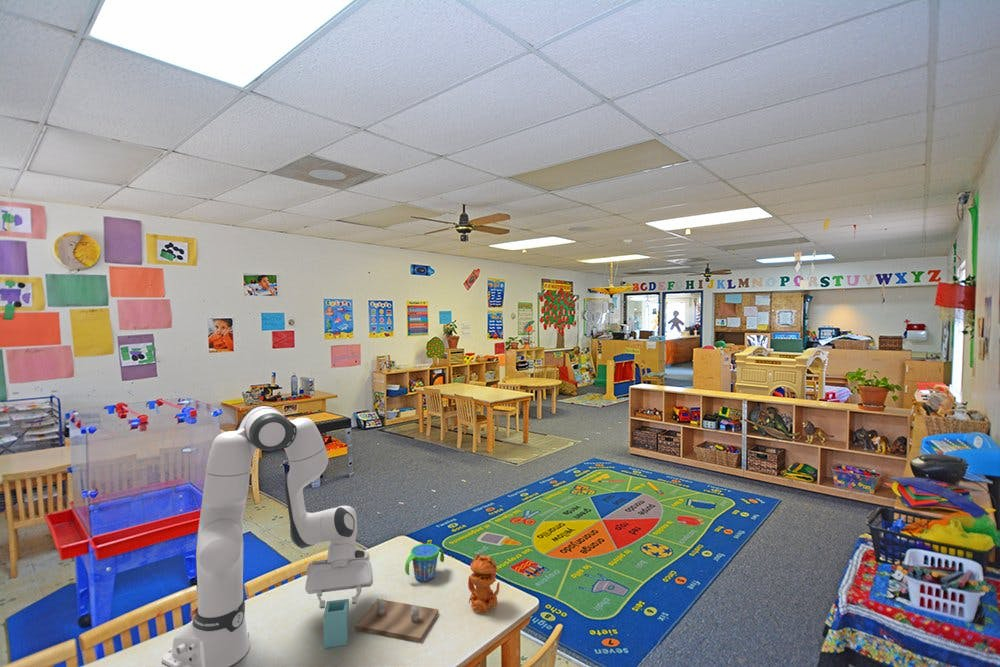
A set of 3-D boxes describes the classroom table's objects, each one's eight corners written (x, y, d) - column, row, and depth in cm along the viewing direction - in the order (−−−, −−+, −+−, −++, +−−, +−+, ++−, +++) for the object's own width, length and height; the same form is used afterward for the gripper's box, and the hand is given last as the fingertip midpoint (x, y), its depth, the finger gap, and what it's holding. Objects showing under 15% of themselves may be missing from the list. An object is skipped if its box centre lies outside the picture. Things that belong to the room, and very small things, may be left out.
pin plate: (354, 629, 143) (354, 612, 143) (377, 603, 156) (377, 587, 156) (420, 642, 137) (420, 624, 137) (438, 613, 151) (438, 597, 151)
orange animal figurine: (460, 613, 151) (460, 559, 151) (474, 594, 162) (474, 544, 161) (491, 621, 147) (492, 566, 147) (504, 602, 157) (504, 550, 157)
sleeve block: (323, 648, 135) (323, 614, 135) (326, 633, 141) (326, 601, 141) (346, 644, 136) (346, 611, 136) (348, 630, 143) (348, 598, 142)
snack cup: (437, 564, 181) (437, 538, 181) (450, 577, 172) (450, 550, 172) (399, 576, 173) (399, 549, 172) (410, 590, 164) (410, 562, 164)
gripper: (306, 558, 146) (300, 607, 137) (373, 551, 151) (372, 598, 142) (308, 565, 151) (303, 613, 141) (373, 557, 155) (372, 603, 146)
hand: (338, 605), depth 141 cm, fingers open, 8 cm apart
